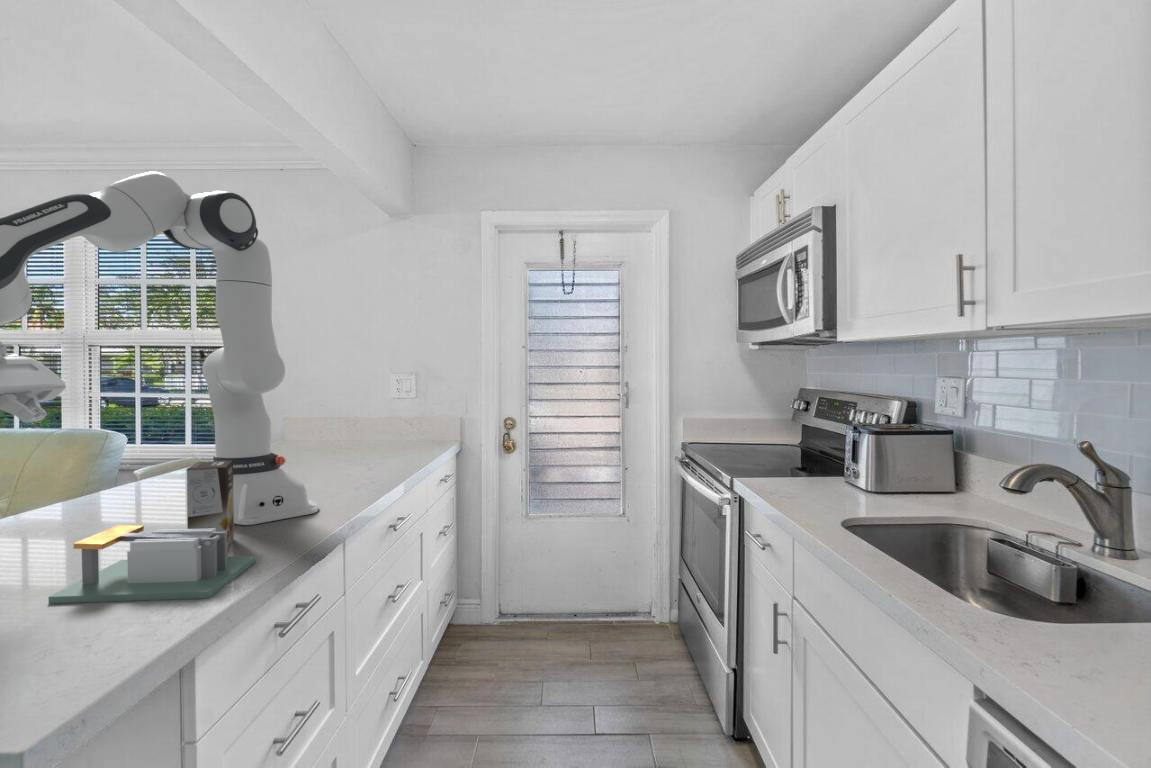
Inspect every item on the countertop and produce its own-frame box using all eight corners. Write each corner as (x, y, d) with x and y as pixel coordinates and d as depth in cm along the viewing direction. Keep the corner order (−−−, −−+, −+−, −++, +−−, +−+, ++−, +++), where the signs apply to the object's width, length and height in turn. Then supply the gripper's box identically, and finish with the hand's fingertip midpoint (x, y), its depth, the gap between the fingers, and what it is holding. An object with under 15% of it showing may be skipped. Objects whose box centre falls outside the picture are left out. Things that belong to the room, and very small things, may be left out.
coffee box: (227, 553, 108) (226, 466, 107) (186, 557, 105) (185, 469, 105) (234, 539, 116) (233, 459, 116) (197, 542, 114) (195, 461, 113)
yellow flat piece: (73, 548, 88) (73, 543, 88) (117, 529, 97) (118, 525, 97) (192, 551, 89) (192, 546, 89) (224, 532, 99) (224, 528, 99)
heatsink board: (48, 603, 85) (47, 553, 84) (121, 565, 101) (120, 523, 100) (209, 598, 87) (208, 549, 87) (255, 561, 103) (255, 520, 103)
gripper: (9, 367, 100) (72, 424, 101) (-121, 371, 79) (-40, 442, 81) (36, 342, 100) (99, 399, 101) (-86, 339, 80) (-6, 410, 81)
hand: (36, 418), depth 91 cm, fingers closed
